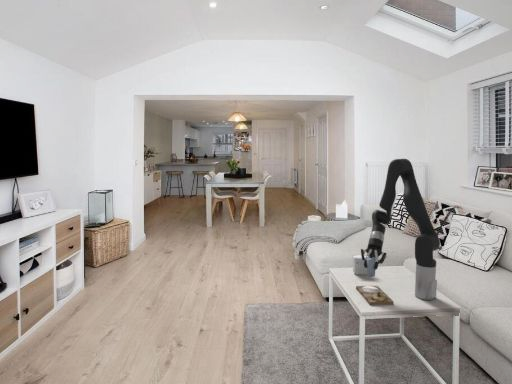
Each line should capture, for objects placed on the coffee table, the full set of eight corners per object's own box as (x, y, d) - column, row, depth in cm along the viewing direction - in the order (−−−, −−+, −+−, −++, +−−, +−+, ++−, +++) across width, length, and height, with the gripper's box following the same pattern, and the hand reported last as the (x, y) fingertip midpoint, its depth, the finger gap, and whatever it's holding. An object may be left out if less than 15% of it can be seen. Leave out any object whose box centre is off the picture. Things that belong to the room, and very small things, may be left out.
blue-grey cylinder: (375, 274, 178) (376, 258, 177) (374, 277, 174) (374, 260, 173) (367, 272, 180) (368, 256, 179) (365, 275, 176) (366, 259, 175)
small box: (365, 271, 210) (365, 255, 209) (367, 274, 205) (368, 258, 204) (352, 271, 211) (353, 255, 210) (354, 274, 206) (354, 258, 204)
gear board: (393, 304, 164) (393, 295, 163) (369, 304, 163) (370, 295, 163) (377, 288, 184) (377, 280, 183) (356, 288, 183) (356, 280, 183)
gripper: (362, 235, 185) (355, 262, 176) (389, 239, 177) (383, 267, 169) (364, 242, 190) (357, 269, 181) (390, 246, 182) (385, 274, 174)
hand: (370, 268), depth 175 cm, fingers closed on blue-grey cylinder, 4 cm apart
